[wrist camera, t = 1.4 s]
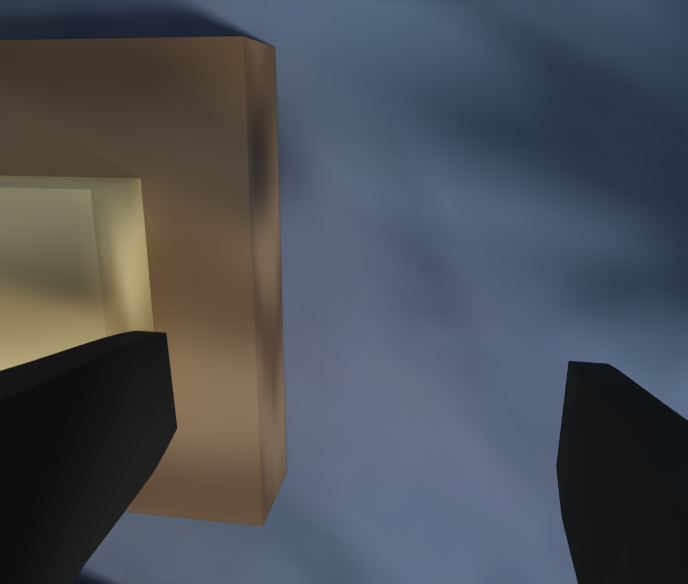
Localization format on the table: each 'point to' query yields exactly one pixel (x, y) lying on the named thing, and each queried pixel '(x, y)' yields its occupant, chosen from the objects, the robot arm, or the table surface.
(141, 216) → the ochre tile
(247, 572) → the table surface
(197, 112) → the walnut deck
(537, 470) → the table surface
